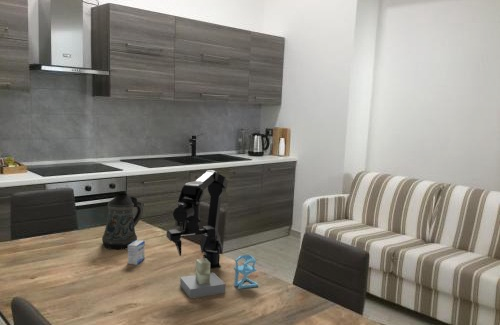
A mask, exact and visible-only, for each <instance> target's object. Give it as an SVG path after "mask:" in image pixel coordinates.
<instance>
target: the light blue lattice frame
mask: <svg viewBox="0 0 500 325" xmlns="http://www.w3.org/2000/svg"><path fill="white" fill-rule="evenodd" d="M242 259H244V261H245V262H244V263H243V264H242V265H239V261H240V260H242ZM234 261H235V266H234V267H233V270H234V272H235V273H234V284H233V287H237V289H238V290H240V289H247V288H254V287H258V286H259V283H257V282H256V281H254V280H251V279H250V278H248V276H249V275H250V274H252V273H255V272H257V268H255V265H256V263H257V262H256V261H257V260H256V259H255V257H254V256H252V255H249V254H244V255H240V256H238V257H237V258H235V259H234ZM250 263H252V265H249V264H250ZM239 274H242V275H243V277H242V278H241V280H239ZM246 281H247V282H248V283H249V284H244V282H246Z"/></svg>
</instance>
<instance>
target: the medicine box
mask: <svg viewBox="0 0 500 325" xmlns="http://www.w3.org/2000/svg"><path fill="white" fill-rule="evenodd" d="M145 246H146V244H145V240H140V239H137V240H135V241H134V242H132V243H131V244H129V245H128V249H127V264H128V265H135V266H137V265H139V264H140V263H141V262H142V261H144V260H145V250H146V249H145Z"/></svg>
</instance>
